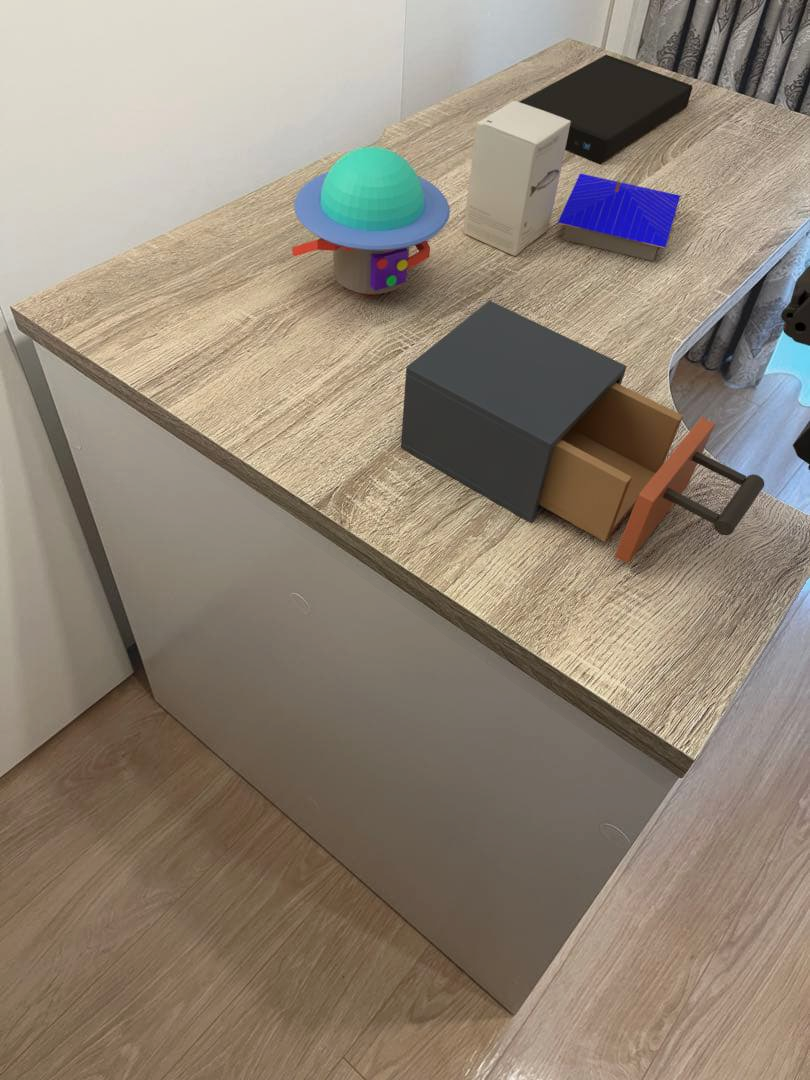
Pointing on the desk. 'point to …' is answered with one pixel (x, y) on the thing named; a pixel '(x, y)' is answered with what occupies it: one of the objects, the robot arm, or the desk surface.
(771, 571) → the desk surface
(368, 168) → the toy robot
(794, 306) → the robot arm
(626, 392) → the drawer
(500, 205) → the white packaging box
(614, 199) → the roof
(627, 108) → the external hard drive
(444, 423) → the cabinet
